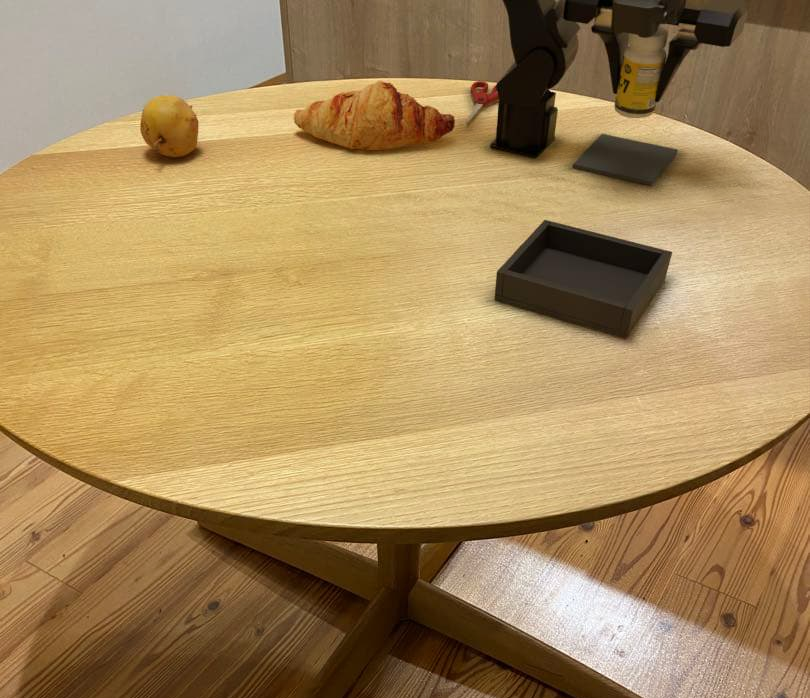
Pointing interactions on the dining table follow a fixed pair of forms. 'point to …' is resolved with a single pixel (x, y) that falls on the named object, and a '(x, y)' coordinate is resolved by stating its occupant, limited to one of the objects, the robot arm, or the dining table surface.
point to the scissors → (482, 97)
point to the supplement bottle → (641, 75)
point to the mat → (625, 159)
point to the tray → (583, 277)
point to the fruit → (169, 126)
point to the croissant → (373, 119)
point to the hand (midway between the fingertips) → (636, 96)
